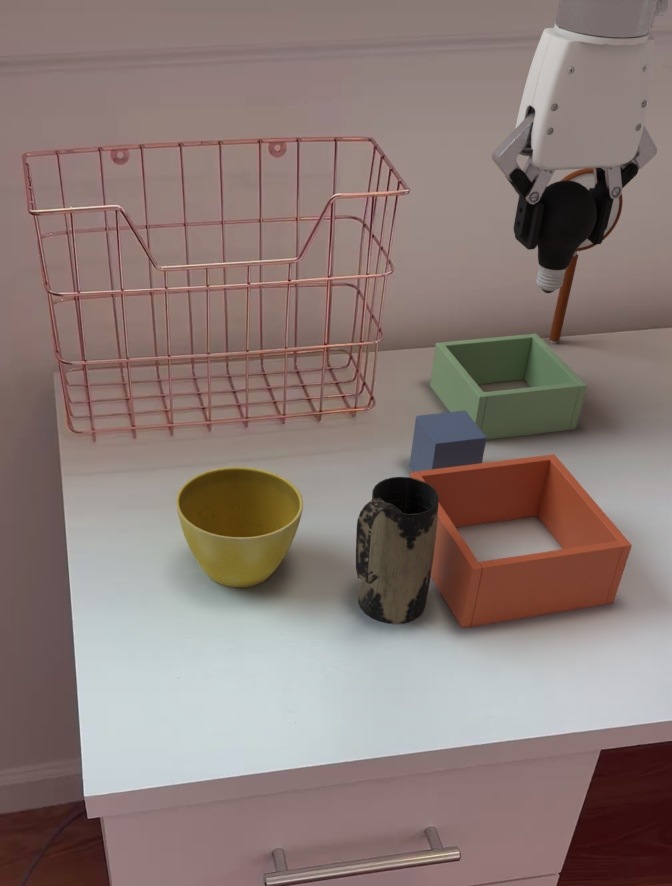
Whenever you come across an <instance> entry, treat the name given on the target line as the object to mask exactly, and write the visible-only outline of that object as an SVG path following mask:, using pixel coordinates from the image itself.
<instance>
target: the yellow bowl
mask: <svg viewBox="0 0 672 886" xmlns="http://www.w3.org/2000/svg"><path fill="white" fill-rule="evenodd" d="M175 507H176V511H177V515H178V520H179V523H180V527H181V530H182V534H183V536H184V538H185V541H186V543H187V545H188V547H189V550H190V552H191V553H192V556H193V557H194V558H195V560H196V562H197V563H198V566H200V568H201V569H202V570H203V571H204V572H205V574H206V575H207V576H208V577H209V578H210V579H211V580H212V581H214V582H215V583H217V584H220V585H222V586H225V587H230V588H250V587H254V586H257V585H259V584H261V583H263V582H265V581H266V580H267V579H269V578H270V576H272V574H273V573H274V572H275V571H276V570H277V568H279V565H280V564H282V562H283V560H284V558H285V556H286V555H287V553H288V551H289V550H290V548H291V545H292V543H293V541H294V539H295V536H296V534H297V531H298V529H299V525H300V522H301V518H302V514H303V510H304V500H303V496H302V494H301V492H300V490H299V488H297V487H296V486H295V485H294V483H292V482H291V481H290V480H288V479H287V478H285V477H283V476H282V475H281V476H280V475H278V474H277V473H274V472H272V471H268V470H265V469H261V468H256V467H247V466H226V467H219V468H215V469H210V470H207V471H203V472H201V473H199V474H197V475H195V476H193V477H191V478H190V479H188V480H187V481H186V482H185V483H184V484H183V485H182V486H181V487H180V489H179V490H178V492H177V495H176V498H175Z"/></svg>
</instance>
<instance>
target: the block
mask: <svg viewBox="0 0 672 886" xmlns="http://www.w3.org/2000/svg"><path fill="white" fill-rule="evenodd" d="M486 443H487V440H486V436H485V435H484V434H483V432H482V431H481V430H480V428H479V427H478V426H477V425H476V423H475V422H474V421H473V419H472V418H471V417H470V416H469V414H468V413H467V412H466V411H465V410H464V411H455V412H449V411H448V412H438V413H427V414H420V415H416V416H415V421H414V429H413V436H412V444H411V450H410V451H411V452H410V457H409V467H410V468H411V470H412V472H417V471H418V472H419V471H424V470H432V469H440V468H448V467H456V466H464V465H472V464H480V463H483V460H484V454H485V449H486Z"/></svg>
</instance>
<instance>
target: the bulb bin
mask: <svg viewBox="0 0 672 886" xmlns="http://www.w3.org/2000/svg"><path fill="white" fill-rule="evenodd" d="M432 361H433V362H432V368H431V375H430V381H429V386H430V388H431V389H432V390H433V392H434V393H435V394H436V396H437V397H438V399H439V400H440V402H441V403H442V404H443V405H444V407H445V408H446V409H447V411H448V412H455V411H464V410H465V411H466V412H467V413H468V414H469V416H470V417H471V418H472V419H473V421H474V422H475V423H476V425H477V426H478V427H479V428H480V430H481V431H482V432H483V434H484V435H485V436H486V441H489V440H496V439H504V438H513V437H520V436H521V437H522V436H529V435H530V436H531V435H538V434H546V433H547V434H548V433H555V432H564V431H570V430H571V431H572V430H576V429H577V426H578V422H579V418H580V415H581V410H582V407H583V402H584V398H585V394H586V390H587V384H586V383H585V382H584V380H582V378H581V377H580V376H579V375H577V373H575V372H574V370H573V369H571V368H570V367H569V365H568V364H566V362H564V361H563V359H562V358H560V356H559V355H558V354H557V353H556V352H555V351H554V350H553V349H552V348H551V347H550V346H549V345H548V344H547V343H546V341H544V340H543V339H542V338H541V337H540V336H539V334H537V333H527V334H516V335H507V336H505V335H504V336H496V337H495V336H493V337H485V338H484V337H483V338H475V339H463V340H462V339H461V340H453V341H443V342H441V341H440V342H436V343H435V348H434V354H433V360H432ZM522 380H523V381H524V382H525V383H526V384H527V385H528V386H529V387H519V388H512V389H511V388H510V389H502V390H493V391H492V390H491V391H484V390H483V389H482V388H481V387H480V386H479V385H483V384H484V385H485V384H493V383H494V384H495V383H503V382H504V383H505V382H514V381H522Z"/></svg>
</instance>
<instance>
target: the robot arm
mask: <svg viewBox="0 0 672 886" xmlns="http://www.w3.org/2000/svg"><path fill="white" fill-rule="evenodd" d="M668 8H669V0H558V4H557V9H556V10H557V11H556V15H555V19H554V20H555V21H554V26H553V27H546V28H544V29H543V31H542V33H541V36H540V38H539V41H538V44H537V46H536V49H535V52H534V55H533V58H532V61H531V64H530V67H529V71H528V74H527V77H526V81H525V85H524V89H523V93H522V97H521V101H520V105H519V109H518V113H517V118H516V123H515V126H514V127H515V128H514V129H513V130H512V131H511V133H510V134H509V135H508V136H506V138H505V139H504V140H503V141H502V142H501V143H500V145H498V147H496V149H495V150H494V151H493V152H492V154H491V159H492V161H493V162H494V164H495V165H496V166H497V168H498V169H500V171H501V172H502V173H503V175H504V177H505V178H506V180H507V181H508V182H509V184H510V185H511V186H512V188H513V189H514V192H515V193H516V194H517V195H518V199H517V204H516V205H517V206H516V210H515V211H516V212H515V216H514V222H513V233H514V238H515V240H516V241H518V242H519V244H521V245H522V246H523V247H524V248H526V249H527V250H535V249H536V248H538V246H537V243H538V238H539V233H540V228H541V223H542V218H543V212H544V205H543V204H542V203H541V202H540V198H541V196H542V194H543V192H544V190H545V188H546V187H547V186H549V182H550V181H551V179H552V177H553V175H554V173H555V171H563V170H564V171H565V170H566V171H567V170H581V169H585V168H593V171H594V180H595V188H589V191H590V193H591V194H592V196H593V197H594V200H595V203H596V207H597V219H596V223H595V226H594V229H593V230H592V232H591V234H590V235H589V237H588V238H587V239H588V240H589V241H591V242H592V243H593V244H595V246H597V245H602V243H603V241H604V240H603V236H604V232H605V230H606V229H607V226H608V221H609V217H610V213H611V209H612V205H613V200H614V199H617V198H618V197H619V196H620V195H621V193H622V194H623V189H624V188H625V187H626V186H627V185H628V184H629V183H630V182H631V181H632V180H633V179H634V178H635V177H636V176H637V175H638V173H639V170H641V169H643V168H644V167H645V166H646V165H647V164H648V163H649V162H650V161H651V160H652V159H653V158H655V156H656V155H657V153H658V148H657V146H656V144H655V142H654V140H653V138H652V137H651V135H650V134H649V132H648V129H647V128H646V126H645V122H646V118H647V112H648V108H649V107H648V106H649V100H650V94H651V87H652V81H653V72H654V71H653V70H654V62H655V61H654V60H655V59H654V58H655V37H654V35H652V34H650V33H651V30H652V28H653V26H654V22H655V21H654V20H655V18H656V17H663V16H665V14H666V13H667V11H668ZM519 155H521V156H524V157H528V158H527V160H526V163H524V166H523V169H522V168H521V167H520V166H519V164H518V162H517V158H518V157H519ZM602 240H603V241H602ZM596 244H597V245H596Z"/></svg>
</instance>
